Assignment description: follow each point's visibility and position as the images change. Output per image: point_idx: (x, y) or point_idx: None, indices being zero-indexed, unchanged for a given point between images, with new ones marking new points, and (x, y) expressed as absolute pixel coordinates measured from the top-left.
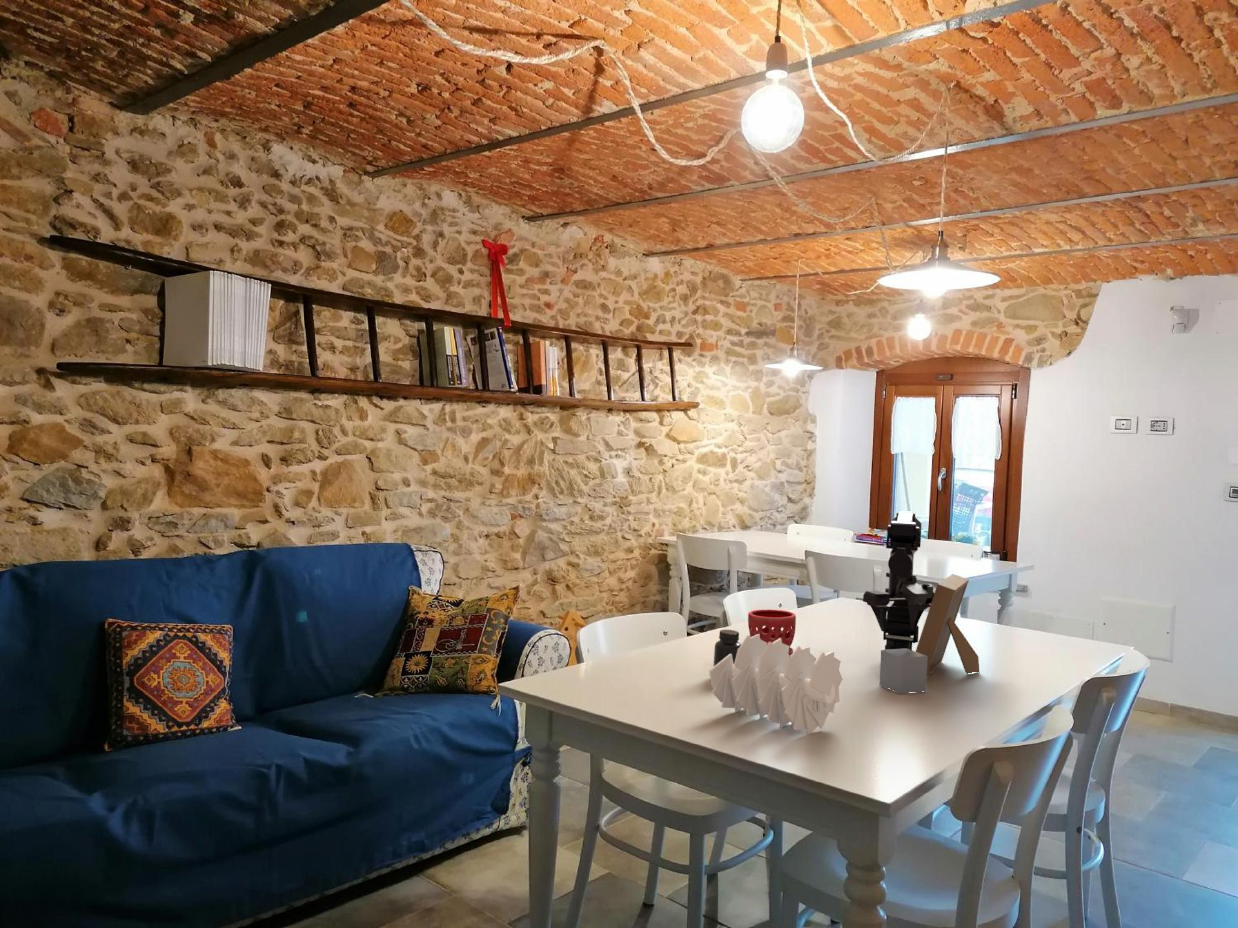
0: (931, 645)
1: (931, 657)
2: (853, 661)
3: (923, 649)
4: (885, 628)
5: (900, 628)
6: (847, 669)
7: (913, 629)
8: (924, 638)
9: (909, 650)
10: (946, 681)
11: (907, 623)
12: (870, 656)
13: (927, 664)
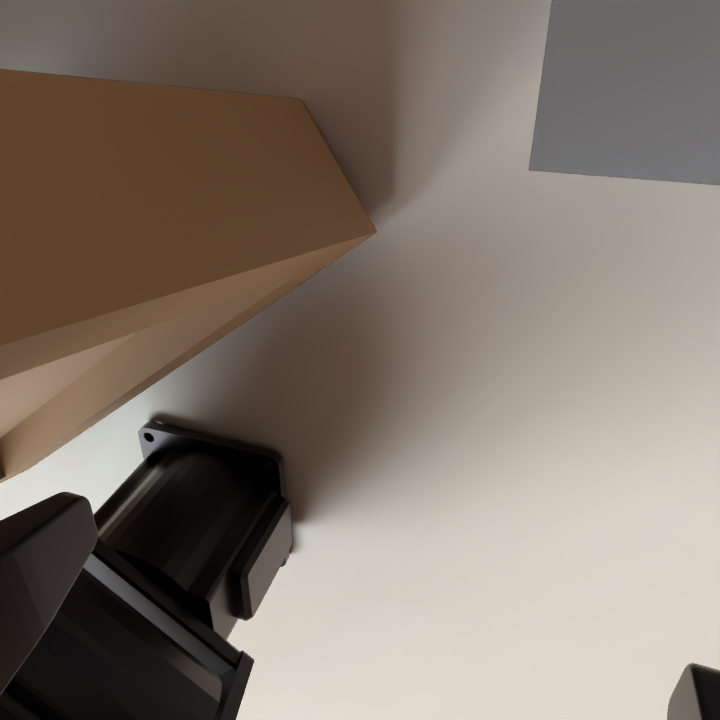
0: (46, 132)
1: (149, 94)
2: (486, 614)
3: (169, 203)
4: (714, 716)
5: (112, 669)
6: (703, 542)
7: (81, 504)
8: (59, 255)
9: (614, 3)
10: (140, 13)
11: (14, 685)
12: (308, 615)
13: (222, 117)
